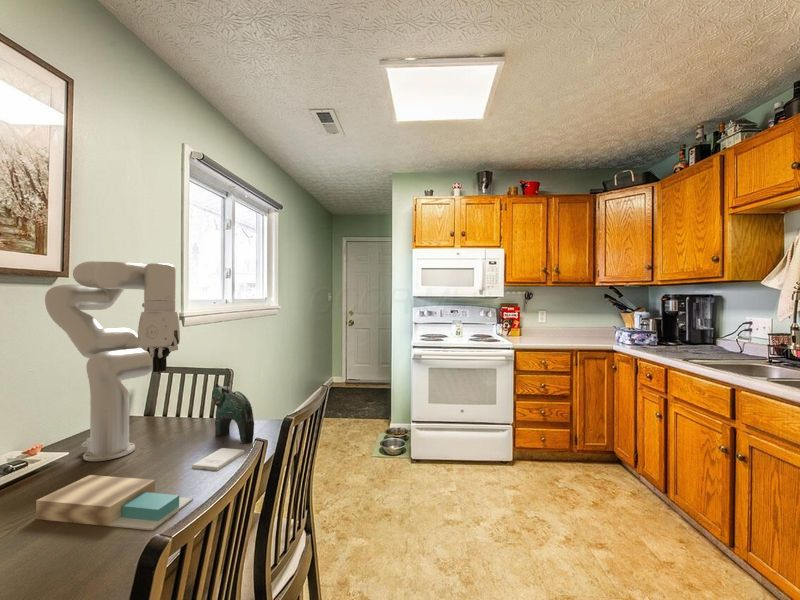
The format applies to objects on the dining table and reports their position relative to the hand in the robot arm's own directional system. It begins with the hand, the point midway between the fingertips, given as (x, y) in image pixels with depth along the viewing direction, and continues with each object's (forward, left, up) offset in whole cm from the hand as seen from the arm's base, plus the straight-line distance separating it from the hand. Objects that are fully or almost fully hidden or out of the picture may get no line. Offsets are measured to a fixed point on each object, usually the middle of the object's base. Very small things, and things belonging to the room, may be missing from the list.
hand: (159, 371), depth 107 cm
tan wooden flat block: (+3, -21, -27) cm, 34 cm away
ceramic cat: (+8, +24, -27) cm, 37 cm away
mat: (+17, -21, -27) cm, 38 cm away
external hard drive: (+14, +7, -28) cm, 32 cm away
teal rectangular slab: (+17, -21, -27) cm, 38 cm away
